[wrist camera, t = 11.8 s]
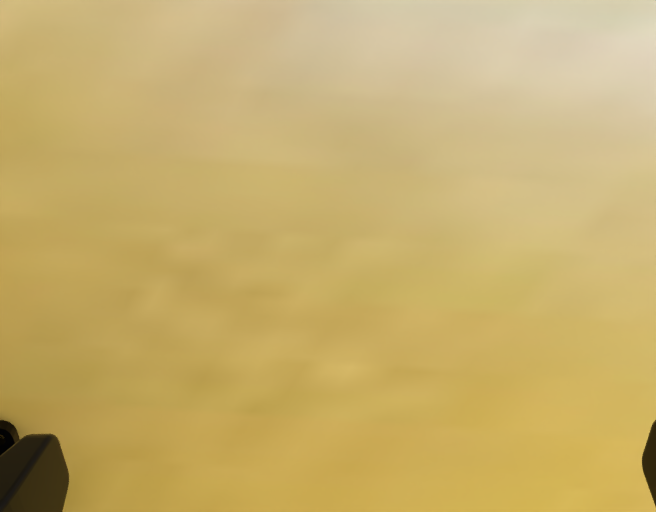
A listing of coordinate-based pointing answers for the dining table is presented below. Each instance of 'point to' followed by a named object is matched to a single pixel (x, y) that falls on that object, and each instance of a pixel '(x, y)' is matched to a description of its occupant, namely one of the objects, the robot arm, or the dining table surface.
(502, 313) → the dining table surface
